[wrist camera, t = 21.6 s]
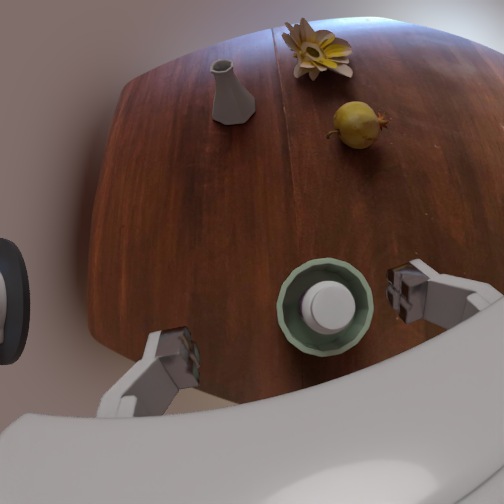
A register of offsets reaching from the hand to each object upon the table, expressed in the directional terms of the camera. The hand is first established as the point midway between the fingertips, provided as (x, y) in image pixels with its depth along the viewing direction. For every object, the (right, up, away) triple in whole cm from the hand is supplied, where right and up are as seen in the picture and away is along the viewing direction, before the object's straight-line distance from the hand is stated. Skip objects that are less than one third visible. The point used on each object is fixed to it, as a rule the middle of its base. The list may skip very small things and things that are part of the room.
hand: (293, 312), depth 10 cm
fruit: (+13, +20, +27) cm, 36 cm away
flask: (-5, +25, +30) cm, 40 cm away
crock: (+7, -5, +23) cm, 24 cm away
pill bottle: (+7, -4, +23) cm, 24 cm away
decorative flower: (+10, +36, +31) cm, 48 cm away
